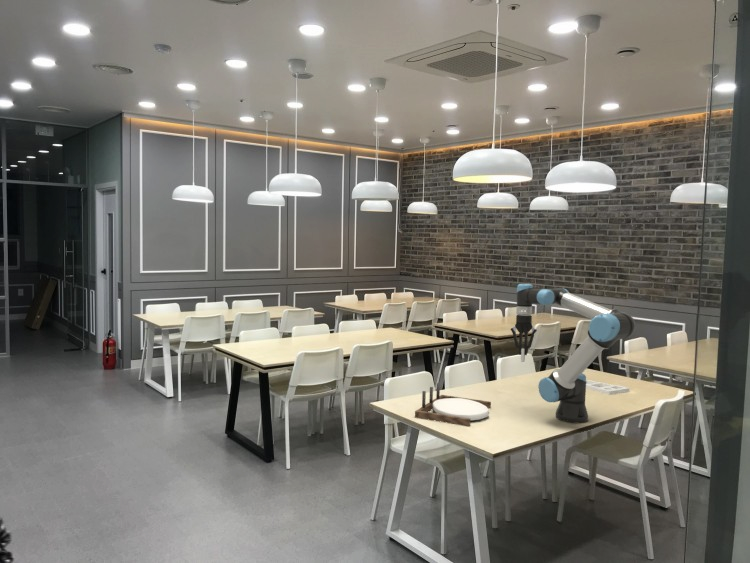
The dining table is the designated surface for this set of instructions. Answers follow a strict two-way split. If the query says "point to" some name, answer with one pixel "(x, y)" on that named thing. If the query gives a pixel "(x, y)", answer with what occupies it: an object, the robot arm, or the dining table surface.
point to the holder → (605, 387)
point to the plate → (461, 408)
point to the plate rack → (425, 414)
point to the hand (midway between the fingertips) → (522, 361)
